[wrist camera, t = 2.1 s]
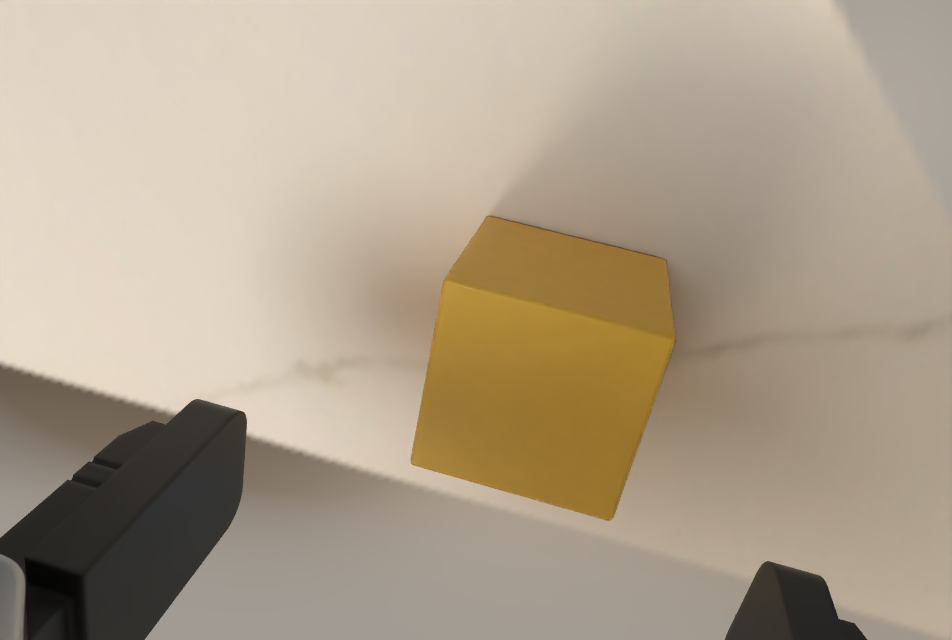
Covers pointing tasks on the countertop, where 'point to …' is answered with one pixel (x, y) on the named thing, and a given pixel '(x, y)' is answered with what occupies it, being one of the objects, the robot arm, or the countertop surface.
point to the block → (544, 366)
